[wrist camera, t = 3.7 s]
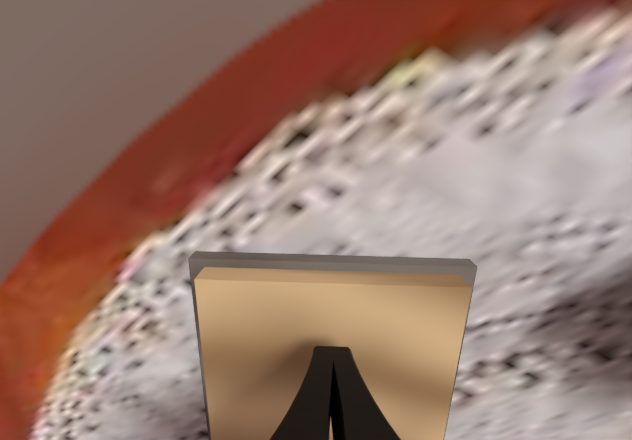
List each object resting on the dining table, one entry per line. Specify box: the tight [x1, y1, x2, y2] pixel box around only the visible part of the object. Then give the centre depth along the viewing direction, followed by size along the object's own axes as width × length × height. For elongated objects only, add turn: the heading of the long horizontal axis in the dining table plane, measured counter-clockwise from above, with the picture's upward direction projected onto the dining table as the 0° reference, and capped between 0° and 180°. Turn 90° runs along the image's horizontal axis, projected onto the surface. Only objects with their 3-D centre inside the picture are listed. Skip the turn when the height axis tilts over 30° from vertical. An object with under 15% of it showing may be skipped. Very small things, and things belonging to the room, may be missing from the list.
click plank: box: [194, 267, 472, 440], centre depth 15 cm, size 10×12×1 cm
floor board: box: [188, 251, 477, 440], centre depth 17 cm, size 21×13×2 cm, turn 179°
